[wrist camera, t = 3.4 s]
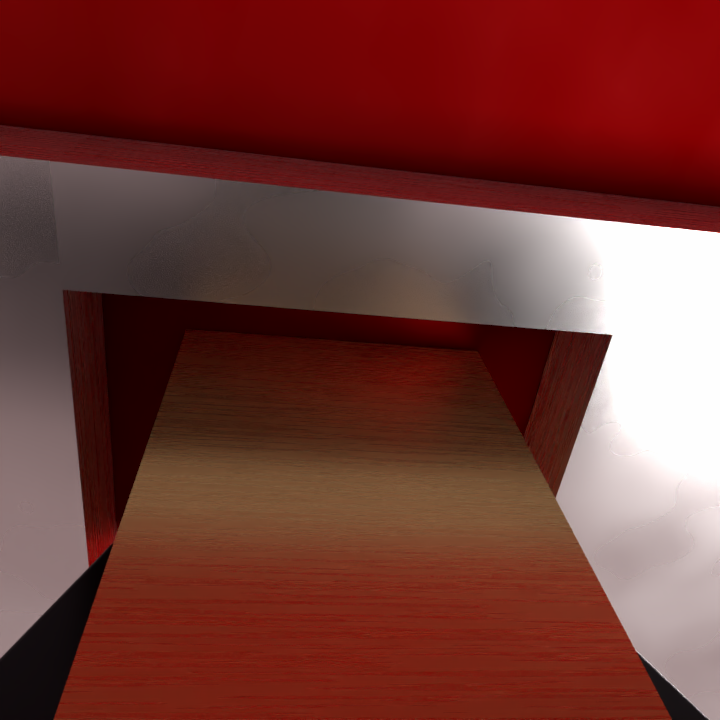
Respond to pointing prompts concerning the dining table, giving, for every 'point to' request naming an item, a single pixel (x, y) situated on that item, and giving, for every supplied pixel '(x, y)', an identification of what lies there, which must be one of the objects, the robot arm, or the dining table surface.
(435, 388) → the brass block
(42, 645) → the robot arm
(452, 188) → the rail
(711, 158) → the dining table surface
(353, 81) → the dining table surface
